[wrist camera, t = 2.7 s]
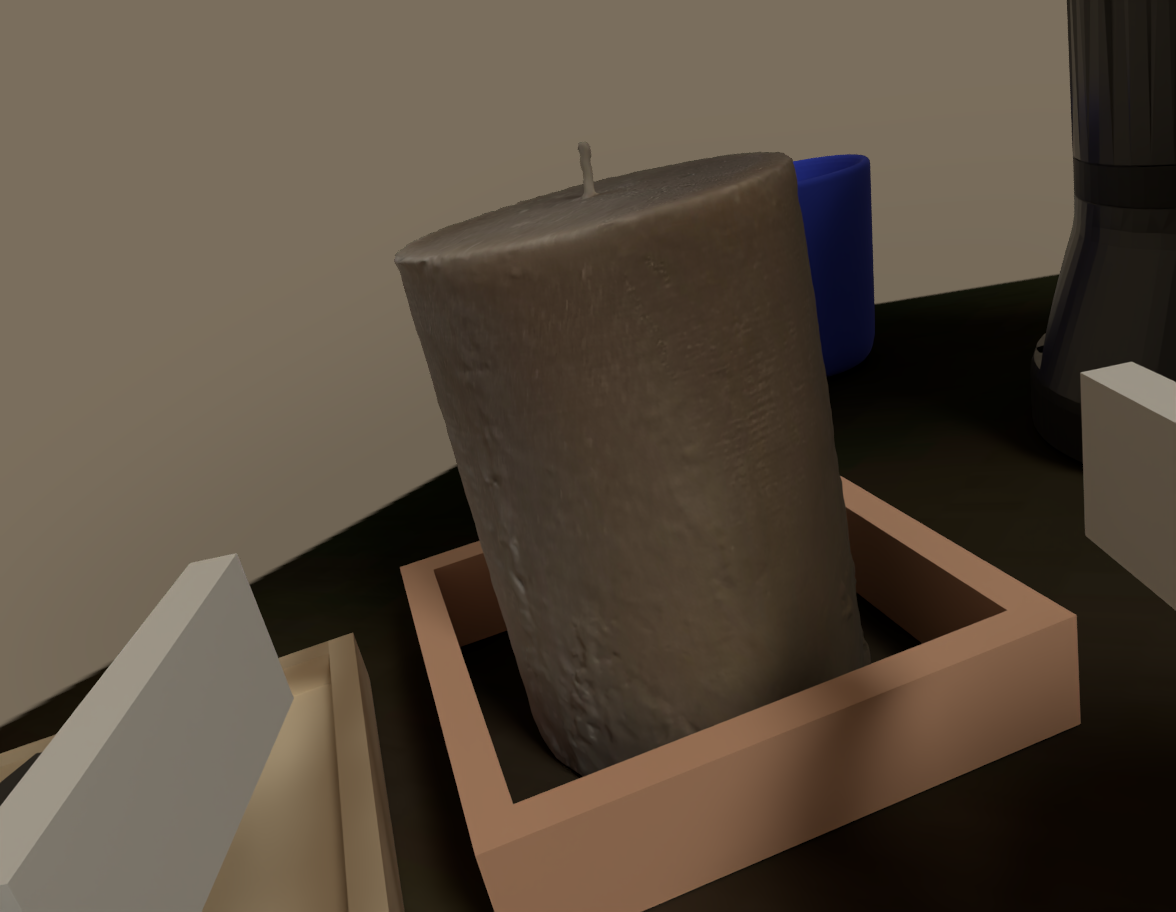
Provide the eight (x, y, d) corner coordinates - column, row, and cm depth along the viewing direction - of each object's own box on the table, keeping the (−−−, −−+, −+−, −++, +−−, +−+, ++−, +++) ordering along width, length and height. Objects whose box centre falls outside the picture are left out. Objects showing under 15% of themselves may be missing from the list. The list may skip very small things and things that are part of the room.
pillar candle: (939, 639, 26) (876, 71, 21) (714, 864, 21) (552, 167, 16) (682, 566, 34) (589, 129, 28) (464, 718, 28) (297, 209, 23)
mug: (644, 406, 50) (604, 216, 46) (808, 334, 55) (784, 158, 52) (749, 434, 43) (711, 214, 40) (925, 349, 48) (906, 148, 45)
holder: (792, 514, 35) (780, 440, 34) (1080, 723, 22) (1076, 615, 21) (425, 643, 32) (399, 567, 31) (513, 966, 20) (475, 856, 18)
